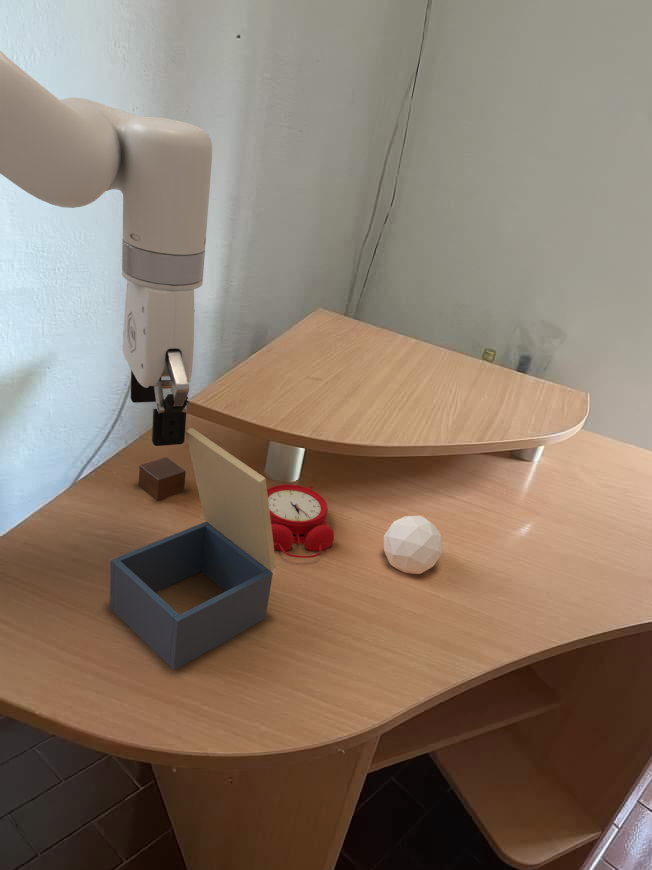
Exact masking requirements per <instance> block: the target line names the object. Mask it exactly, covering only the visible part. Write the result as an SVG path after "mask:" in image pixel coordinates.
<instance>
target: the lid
mask: <svg viewBox="0 0 652 870" xmlns="http://www.w3.org/2000/svg"><path fill="white" fill-rule="evenodd" d="M185 437H186V441H187V444H188V449H189V450H188V451H189V454H190V459H191V463H192V468H193V473H194V478H195V482H196V483H195V484H196V487H197V492H198V496H199V501H200V506H201V511H202V515H203V519H204V521H205V522H206V521H207V522H208V523H209V524H211V525H212V526H213V527H215V528H216V529H217V530H218V531H220V532H221V533H222V534H224V535H225V536H226V537H227V538H229V539H230V540H231V541H233V542H234V543H235V544H236V545H238V546H239V547H240V548H242V549H243V550H244V551H245V552H247V553H248V554H249V555H251V556H252V557H253V558H254V559H256V560H257V561H258V562H260V563H261V564H262V565H263V566H265V567H266V568H267V569H268V570H270V571H271V572H273V570H275V569H276V568H277V562H276V553H275V550H274V545H273V536H272V528H271V519H270V511H269V503H268V494H267V489H268V488H267V478H266V477H264V476H263V475H262V474H260V473H259V472H257V471H256V470H254V469H253V468H252V467H250V466H248V465H247V464H246V463H244V462H243V461H241V460H239V458H237V457H236V456H234V455H232V454H231V453H229V452H228V451H227V450H226V449H224V448H222V447H221V446H220V445H218V444H216V443H215V442H213V441H212V440H210V439H209V438H208V437H206V436H205V435H203V434H202V433H200V432H198V430H196V429H194V428H193V427H190V428H188V429H185Z"/></svg>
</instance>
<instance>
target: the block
mask: <svg viewBox="0 0 652 870" xmlns="http://www.w3.org/2000/svg"><path fill="white" fill-rule="evenodd" d="M186 473H187V472H186V470H185V469H183V468H182V467H181V466H180V465H178V464H176V462H174V461H173V460H171V459H170V458H169V457H165V456H164V457H161V458H159V459H155V460H152V461H149V462H146V463H142V464H140V465H139V468H138V487H139V488H140V489H142V490H143V492H146V494H148V495H149V496H150V497H151V498H153V499H154V500H155V501H157V502H160V501H163V500H164V499H168V498H171V497H173V496H176V495H179V494H182V493H184V492H185V484H186Z"/></svg>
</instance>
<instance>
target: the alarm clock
mask: <svg viewBox="0 0 652 870" xmlns="http://www.w3.org/2000/svg"><path fill="white" fill-rule="evenodd" d="M267 494H268V503H269V511H270V519H271V528H272V536H273V545H274V551H279V552H280V551H281V552H283V553H284V554H285V555H287V556H289V557H292V558H299V559H309V558H316V557H318V556H320V554H321V553H322V551H324V550H327V549H329V548H330V547H332V545H333V543H334V539H335V532H334V530H333V528H332V527H331V526H329V525H328V521H327V516H328V512H329V511H328V504H327V501H326V500H325V498H324V497H323V496H322V495H320V494H319V493H318V492H317V491H316V490H313V485H309V487H306V486H302V485H297V484H278V485H274V486H271V487H269V488H267ZM294 535H295V536H294ZM302 544H304V548H305V549H306V550H308V551H310V552H317V553H316V554H315V553H314V554H312V555H296V554H291V553H289V551H290V550H291V548H292V547H293V545H302Z"/></svg>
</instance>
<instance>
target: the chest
mask: <svg viewBox="0 0 652 870" xmlns="http://www.w3.org/2000/svg"><path fill="white" fill-rule="evenodd" d="M200 572H201V573H203V574H204V575H205V576H206V577H207V578H208V579H210V580H211V581H212V582H213V583H214V584H215V585H217V586H218V587H219V588H220V589H222V590H223V592H222V593H220V594H218V595H215V596H213V597H211V598H210V599H207V600H206V601H204V602H202V603H200V604H198V605H196V606H194V607H192V608H190V609H188V610H186V611H184V612H182V613H179V612H178V611H176V609H174V608H173V607H172V606H171V605H170V604H169V603H168V602H166V601H165V599H163V598H162V597H161V596H160V595H159V594H157V592H159V591H161V590H163V589H165V588H167V587H169V586H172V585H174V584H176V583H178V582H180V581H182V580H185V579H186V578H189V577H191V576H193V575H195V574H198V573H200ZM109 574H110V578H109V579H110V580H109V581H110V582H109V589H110V590H109V609H110V610H111V612H113V613H114V614H115V615H116V616H117V617H118V618H119V619H120V620H122V622H123V623H125V625H126V626H128V628H129V629H131V631H133V632H134V634H135V635H137V637H139V638H140V639H141V641H142V642H144V643H145V644H146V645H147V646H148V647H149V648H150V649H151V650H152V651H153V652H154V653H155V654H156V655H157V656H158V657H159V658H160V659H161V660H162V661H164V663H165V664H167V666H169V667H170V669H171V670H172V671H176V670H178V669H180V668H181V667H183V666H185V665H186V664H188V663H190V662H191V661H193V660H196V659H197V658H199V657H200V656H202V655H204V654H206V653H208V652H209V651H212V650H213V649H215V648H216V647H218V646H220V645H222V644H223V643H225V642H228V641H229V640H230V639H232V638H234V637H235V636H237V635H239V634H241V633H243V632H244V631H247V630H248V629H250V628H252V627H253V626H255V625H257V624H258V623H260V622H262V621H263V620H265V619H266V618H267V617H266V616H267V611H268V605H269V599H270V593H271V587H272V582H273V581H272V580H273V575H274V573H273V571H270V570H269V569H267V568H266V567H265V566H264V565H262V564H261V563H260V562H258V561H257V560H256V559H255V558H253V557H252V556H251V555H249V554H248V553H247V552H246V551H244V550H243V549H242V548H240V547H239V546H238V545H237V544H235V543H234V542H233V541H231V540H230V539H229V538H228V537H226V536H225V535H224V534H222V533H221V532H220V531H219V530H217V529H216V528H215V527H213V526H212V525H211V524H210V523H208V522H207V521H206V520H205V521H203V522H201V523H198V524H196V525H193V526H191V527H189V528H186V529H183V530H181V531H179V532H176V533H174V534H171V535H169V536H167V537H163V538H162V539H159V540H156V541H154V542H151V543H149V544H145V545H143V546H141V547H139V548H137V549H134V550H131V551H129V552H126V553H123V554H121V555H118V556H117V557H114V558H111V559H110V573H109Z"/></svg>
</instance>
